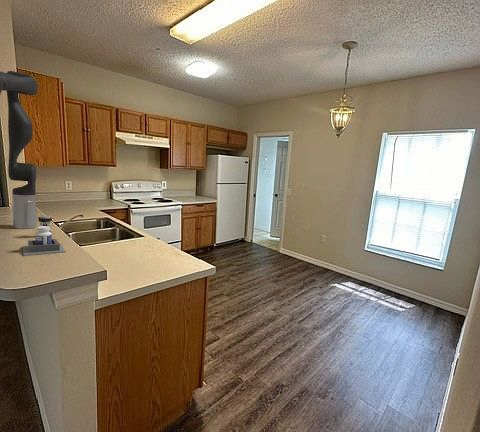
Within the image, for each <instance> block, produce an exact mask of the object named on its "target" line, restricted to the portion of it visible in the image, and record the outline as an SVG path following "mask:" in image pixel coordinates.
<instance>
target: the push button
mask: <svg viewBox="0 0 480 432" xmlns="http://www.w3.org/2000/svg"><path fill="white" fill-rule="evenodd" d="M37 219H38V222H39V224H40V226H48V227H50V226H51V223H50V222H52V219H53V217H51V215H46V214H45V215H40V216H39V217H37ZM50 228H51V227H50ZM49 232H51V233H52V231H51V230H49Z"/></svg>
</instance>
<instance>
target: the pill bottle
mask: <svg viewBox="0 0 480 432" xmlns="http://www.w3.org/2000/svg"><path fill="white" fill-rule="evenodd" d="M36 231H37V232H35V233H34V240H35V245H46V244H52V239H53V238H52V234H53V233H52V231H51V227H48V226H36ZM49 231H51V232H49Z"/></svg>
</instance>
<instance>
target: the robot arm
mask: <svg viewBox="0 0 480 432" xmlns="http://www.w3.org/2000/svg"><path fill="white" fill-rule="evenodd" d="M38 84H39V83H38V81H37V79H36V77H34V76H32V75H31V74H28V73H22V72H18V71H13V70H8V71H7V72H4V71H0V95H1V94H2V91H5V92H6V97H7V98H6V99H7V110H8V111H7V115H8V117H7V118H8V122H7V123H8V124H7V127H8V128H7V129H8V132H7V133H8V146H9V147H8V150H9V151H8V166H7V172H8V173H7V174H8V175H7V176H8V177H9V179H10V181H15V182H17V181H18V182H27V184H25V185H22V186H19V187H14V188H13V189H12V228H13V229H19V230H20V229H24V230H25V229H26V230H27V229H33V228H34V229H35V228H37V227H38V225H37V223H38V222H37V219H38V217H37V213H38V211H37V208H36V207H37V205H36V203H37V202H36V195H37V194H36V193H37V192H36V190H37V189H36V185H37V183H36V180H37V168H36V165H35V164H33V163H30V162H29V163H27V162H18V159H19V156H20V155H21V153H22V152H23V150H24V149H25V148H26V147H27V146H28V144H29V143H30V142H31V141H32V140H33V136H34V135H33V134H34V133H33V129H34V128H33V127H34V126H33V123H32V120H31V119H30V117H29V115H28V114H27V112H26V111H25V110H24V108H23V106H22V105H21V102H20V101H21V100H20V97H19V94H20V95H26V96H35V95H37V93H38V90H39V86H38Z"/></svg>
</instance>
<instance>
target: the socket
mask: <svg viewBox="0 0 480 432" xmlns="http://www.w3.org/2000/svg"><path fill="white" fill-rule="evenodd" d="M21 248H22V249H21V250H22V254H23V257H27V256H39V255H47V254H48V255H50V254H61V253H66V250H65V247H64V246H63V245H62V243H59V241H58V239H57V238H52V244H46V245H35V239H34V240H33V239H31V240H29V239H28V240H27V244H26V245H22V246H21Z"/></svg>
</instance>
